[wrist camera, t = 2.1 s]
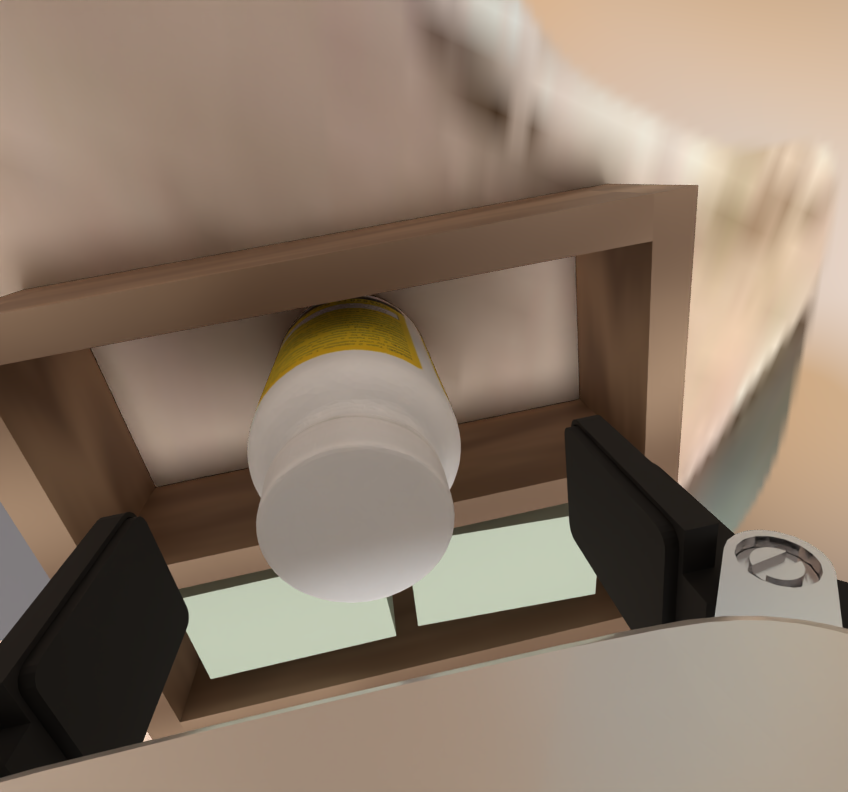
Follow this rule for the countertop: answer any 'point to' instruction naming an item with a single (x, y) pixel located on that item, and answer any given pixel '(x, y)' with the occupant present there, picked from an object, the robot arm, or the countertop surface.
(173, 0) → the countertop surface
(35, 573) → the mat
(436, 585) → the offcut
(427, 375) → the supplement bottle
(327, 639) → the offcut
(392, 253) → the rack
